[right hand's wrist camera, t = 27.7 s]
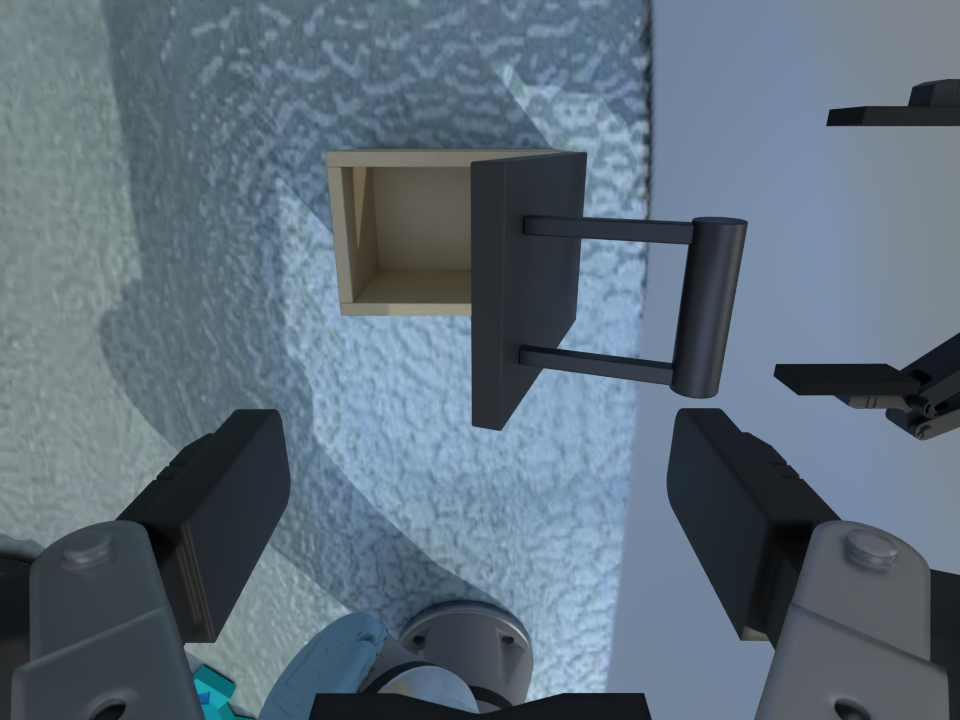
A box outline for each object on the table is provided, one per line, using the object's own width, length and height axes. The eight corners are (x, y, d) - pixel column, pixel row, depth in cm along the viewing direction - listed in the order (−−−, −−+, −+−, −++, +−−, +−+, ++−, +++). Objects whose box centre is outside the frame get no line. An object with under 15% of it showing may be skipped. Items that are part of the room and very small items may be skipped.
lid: (471, 426, 22) (711, 469, 20) (469, 161, 19) (767, 166, 16) (556, 318, 36) (705, 334, 33) (565, 151, 32) (735, 153, 29)
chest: (371, 277, 47) (340, 315, 36) (361, 148, 43) (324, 151, 33) (546, 277, 47) (564, 316, 36) (552, 148, 43) (574, 151, 33)
